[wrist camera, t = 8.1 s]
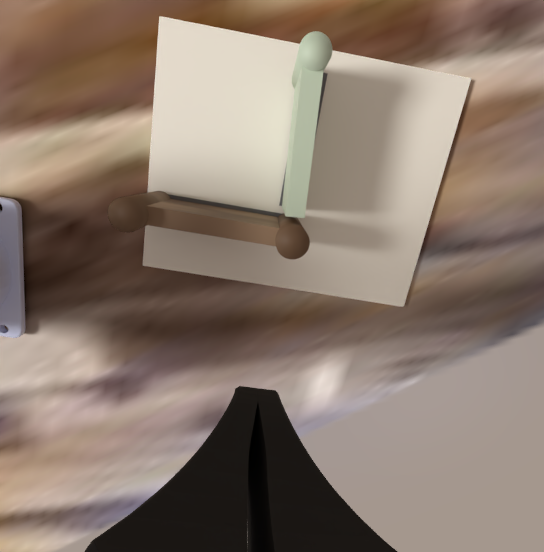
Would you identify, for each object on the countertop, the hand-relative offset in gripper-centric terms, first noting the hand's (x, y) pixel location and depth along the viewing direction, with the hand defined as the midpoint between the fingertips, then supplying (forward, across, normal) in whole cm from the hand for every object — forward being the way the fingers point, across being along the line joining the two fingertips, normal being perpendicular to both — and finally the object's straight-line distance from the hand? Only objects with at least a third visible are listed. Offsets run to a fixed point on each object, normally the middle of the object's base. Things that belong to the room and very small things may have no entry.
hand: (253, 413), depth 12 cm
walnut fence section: (+9, +3, -5) cm, 11 cm away
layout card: (+9, -1, -8) cm, 12 cm away
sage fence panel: (+9, -1, -9) cm, 13 cm away
